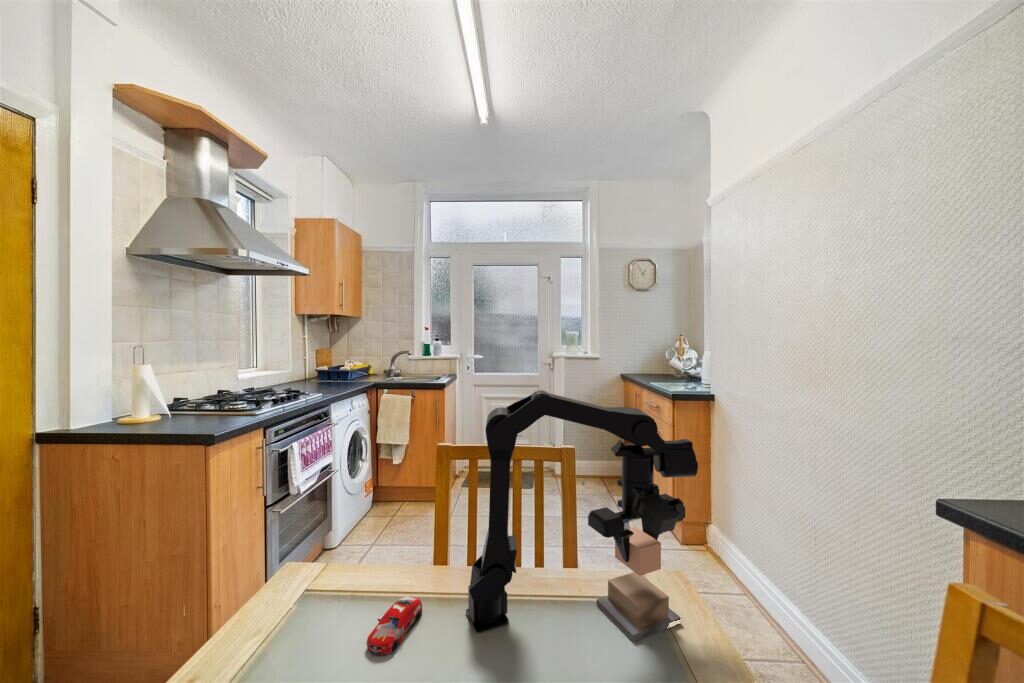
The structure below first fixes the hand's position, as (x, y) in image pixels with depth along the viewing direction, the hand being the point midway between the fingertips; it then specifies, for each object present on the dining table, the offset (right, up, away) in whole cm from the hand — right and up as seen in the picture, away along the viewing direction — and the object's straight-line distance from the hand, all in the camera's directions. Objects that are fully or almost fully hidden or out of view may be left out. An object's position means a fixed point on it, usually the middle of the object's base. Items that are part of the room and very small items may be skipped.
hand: (637, 557), depth 87 cm
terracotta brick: (0, -1, 0) cm, 1 cm away
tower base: (0, -11, +1) cm, 11 cm away
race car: (-45, -12, -3) cm, 47 cm away
